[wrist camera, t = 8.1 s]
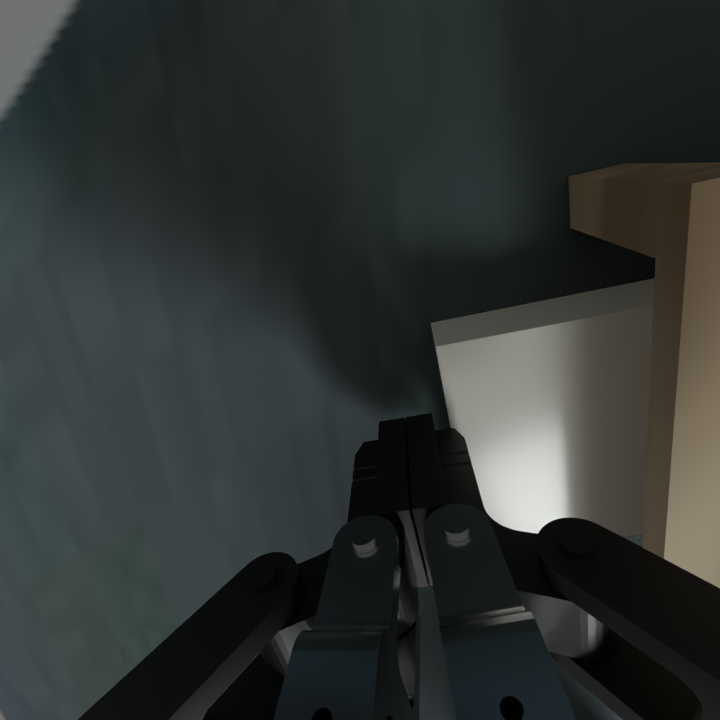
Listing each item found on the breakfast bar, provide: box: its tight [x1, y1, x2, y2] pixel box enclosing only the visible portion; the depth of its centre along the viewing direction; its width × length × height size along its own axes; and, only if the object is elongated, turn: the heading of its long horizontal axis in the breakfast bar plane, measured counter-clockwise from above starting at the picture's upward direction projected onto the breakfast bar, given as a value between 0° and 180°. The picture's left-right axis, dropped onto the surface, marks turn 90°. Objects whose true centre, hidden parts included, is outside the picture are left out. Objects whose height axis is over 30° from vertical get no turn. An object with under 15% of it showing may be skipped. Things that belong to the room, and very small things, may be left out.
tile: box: [431, 278, 655, 537], centre depth 12 cm, size 10×7×2 cm
